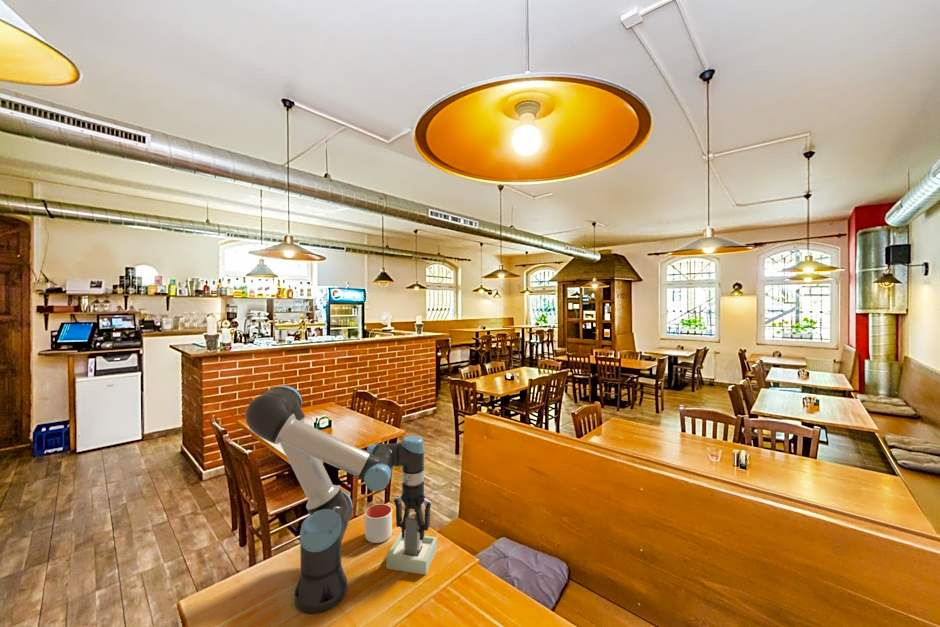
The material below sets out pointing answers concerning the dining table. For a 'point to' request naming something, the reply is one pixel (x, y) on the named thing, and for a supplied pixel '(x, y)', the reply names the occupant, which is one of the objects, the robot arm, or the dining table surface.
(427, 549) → the walled box
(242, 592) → the dining table surface
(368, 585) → the dining table surface
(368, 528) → the cup
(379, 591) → the dining table surface
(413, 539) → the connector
